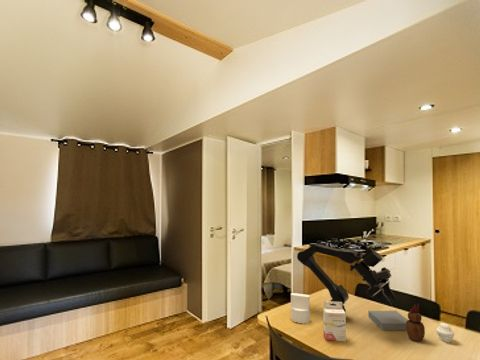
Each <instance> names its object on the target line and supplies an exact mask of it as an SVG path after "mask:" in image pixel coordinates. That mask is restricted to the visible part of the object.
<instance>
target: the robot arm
mask: <svg viewBox="0 0 480 360" xmlns="http://www.w3.org/2000/svg"><path fill="white" fill-rule="evenodd" d="M316 253H319V254H322V255H326V256H331V257H335V258H337V259H339V260H340V261H343V262H344V263H347V264H350V265H349V266H350V269H349V270H350V272H353V271H356V273H357V274H359V275H360V277H361V278H362V282H366V283H367V284H368V289H367V290H366V294H367V296H369V298H372V299H374V300H378V301H379V302H381V303H384V304H385V305H387V306H389V307H391V306H392V305H393V304H392V303H391V301H390V299H389V298H391V300H394V301H395V300H396V299H397V297H396V296H395V294H394V292H393V291H392V289H391V287H390V284H391V283H390V278H391V277H392V274H391V270H389V268H387V267H382V268H381V269H380V271H376V270H374V269H373V270H372V269H371V268H374V267H376V266H377V265H378V264H379V263H380V262H382V261H383V257H382V255H381V254H380V253H378V252H377V251H375V250H374V249H373V248H369V249H368V250H367V251H366V252H365V253H364V254H363V253H360V252H357V250H354V249H350V248H349V249H347V248H346V249H342V248H341V249H340V248H337V247H331V246H328V245H323V244H319V243H314V244H311V246H309V247H307V248H305V249H304V250H300V251H299V252H298V253H297V255H296V256H297V257H296V258H297V260H298V262H300V263H301V264H302V265H303V266H304V267H307V268H308V269H310V270H311V272H312V273H313V274H314V275H315V276H316V277H317V279H318V280H319V281H320V282H321V283H322V284H323V286H324V287H325V288H326V289H327V291H328V292H329V293H328V294H329V296H330V298H331V300H329V301H332V302H342V309H343V310H344V312H345V313H346V310H347V309H346V308H345V305H344V304H345V303H346V302H347V301H348V300H349V298H350V297H349V293H348V290H347V289H345V287H344V286H343V285H342V284H339V285H338V284H336V283H335V282H334V281H333V280H332V279H331V277H330V276H329V275H328V274H327V273H326V272H325V271H324V270H323V269H322V267H321V266H320V265H319V264H318V263H317V262H316V258H315V257H314V255H315V254H316ZM353 263H354V264H353ZM370 267H371V268H370ZM388 297H389V298H388ZM330 305H333V306H336V304H330ZM346 314H347V313H346Z"/></svg>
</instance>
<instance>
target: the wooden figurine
mask: <svg viewBox="0 0 480 360" xmlns="http://www.w3.org/2000/svg"><path fill="white" fill-rule="evenodd" d="M422 318H423V317H422V315H421V313H420V304H419V303H417V305H416V304H415V303H414V305H413V306H412V308H410V309H409V311H408V313H407V319H408V321H407V322H406V330H405V331H406V334H407V336H408V338H409V339H410V340H412V341H414V342H421V341H423V340H424V338H425V335H426V333H425V332H426V329H425V325H424V323H423V322H422Z"/></svg>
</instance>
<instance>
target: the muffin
mask: <svg viewBox="0 0 480 360" xmlns="http://www.w3.org/2000/svg"><path fill="white" fill-rule="evenodd" d="M436 333H437V336H438V337H439V338H440V341H442V342H445V343H451V342H452V340H453V339H454V336H455V332H454V331H453V330H452V328H451V326H450V325H449V324H447V323H444V322H442V323H440V324H439V326H438V327H436Z"/></svg>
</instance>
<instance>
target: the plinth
mask: <svg viewBox="0 0 480 360" xmlns="http://www.w3.org/2000/svg"><path fill="white" fill-rule="evenodd" d="M367 315H368V318H369V319H370V320H371V321H372V322H373V323H374V324H375V325H376V326H377V327H379V328H380V329H381V331H406V322H407V321H408V320H409V319H408V317H407V318H406V316H404V315H402V314H401V313H400V312H398V311H397V310H368V314H367Z"/></svg>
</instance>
